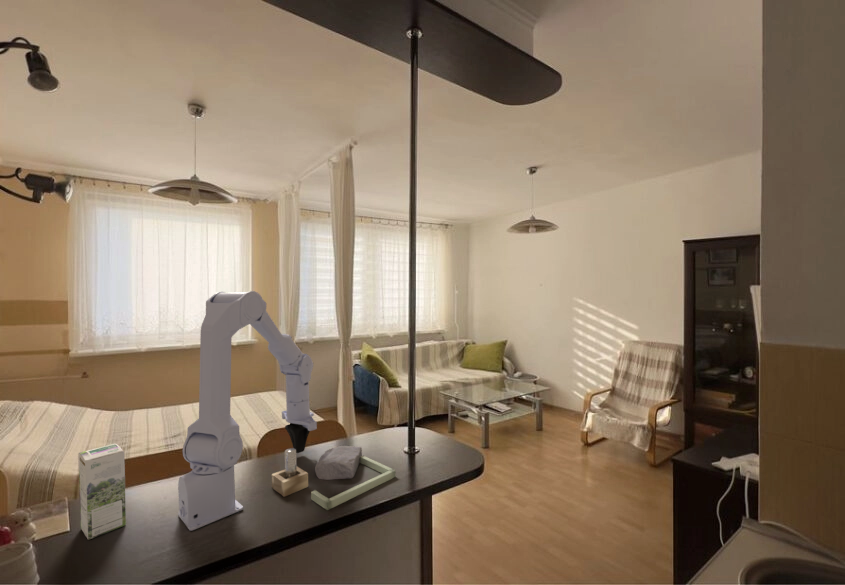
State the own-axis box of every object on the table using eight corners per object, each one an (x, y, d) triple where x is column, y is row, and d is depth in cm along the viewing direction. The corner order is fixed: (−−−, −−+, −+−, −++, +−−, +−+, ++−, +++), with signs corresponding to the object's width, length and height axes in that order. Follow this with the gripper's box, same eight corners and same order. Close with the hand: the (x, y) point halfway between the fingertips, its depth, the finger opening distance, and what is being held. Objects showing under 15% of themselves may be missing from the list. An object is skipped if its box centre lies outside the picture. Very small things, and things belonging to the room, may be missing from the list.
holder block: (284, 496, 82) (283, 482, 82) (272, 487, 86) (271, 474, 86) (308, 486, 86) (307, 473, 86) (295, 478, 90) (295, 465, 90)
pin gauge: (298, 486, 86) (297, 450, 86) (288, 490, 85) (286, 453, 85) (294, 482, 88) (293, 447, 88) (283, 486, 87) (282, 450, 87)
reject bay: (327, 510, 77) (327, 502, 77) (296, 489, 85) (296, 482, 85) (395, 476, 90) (395, 470, 90) (363, 461, 98) (363, 455, 98)
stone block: (314, 488, 90) (356, 479, 89) (309, 468, 90) (352, 458, 89) (327, 466, 101) (365, 458, 101) (323, 448, 101) (361, 439, 101)
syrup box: (118, 515, 77) (115, 441, 77) (127, 526, 74) (124, 448, 73) (80, 529, 73) (77, 451, 73) (87, 541, 69) (84, 459, 69)
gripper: (326, 401, 100) (328, 454, 100) (298, 391, 110) (299, 439, 110) (301, 407, 95) (302, 463, 95) (273, 397, 105) (275, 447, 105)
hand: (299, 451), depth 102 cm, fingers closed
